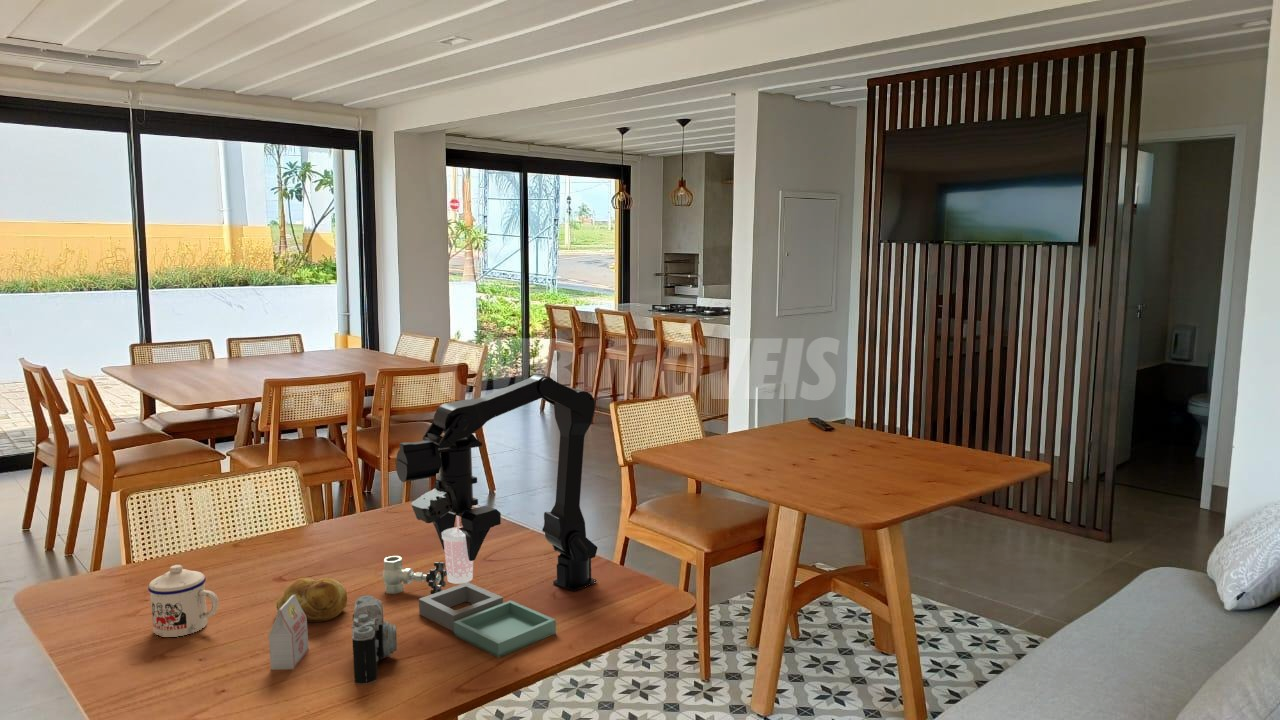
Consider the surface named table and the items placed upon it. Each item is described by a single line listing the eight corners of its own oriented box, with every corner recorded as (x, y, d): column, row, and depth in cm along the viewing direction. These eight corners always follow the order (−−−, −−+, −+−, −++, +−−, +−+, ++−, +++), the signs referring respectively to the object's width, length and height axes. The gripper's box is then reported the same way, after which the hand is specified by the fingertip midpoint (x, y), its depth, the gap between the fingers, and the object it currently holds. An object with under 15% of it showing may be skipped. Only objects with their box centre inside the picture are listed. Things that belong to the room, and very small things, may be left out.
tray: (510, 613, 164) (510, 600, 164) (555, 633, 156) (555, 619, 155) (454, 635, 155) (453, 621, 155) (498, 657, 147) (498, 643, 146)
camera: (397, 680, 140) (394, 620, 138) (352, 686, 138) (349, 625, 136) (397, 640, 154) (394, 585, 152) (356, 645, 152) (353, 589, 151)
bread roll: (266, 622, 161) (263, 580, 160) (298, 601, 171) (295, 561, 170) (328, 629, 158) (326, 586, 157) (358, 607, 168) (356, 566, 167)
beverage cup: (482, 574, 165) (480, 502, 163) (466, 587, 160) (463, 512, 158) (454, 571, 167) (451, 499, 165) (436, 583, 161) (433, 509, 160)
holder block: (468, 596, 172) (467, 581, 172) (503, 612, 165) (503, 597, 164) (419, 614, 164) (418, 598, 164) (454, 631, 157) (453, 615, 156)
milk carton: (271, 669, 143) (267, 610, 142) (286, 650, 150) (283, 594, 149) (293, 669, 143) (290, 610, 142) (308, 650, 150) (305, 593, 149)
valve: (376, 596, 173) (433, 601, 170) (374, 564, 172) (432, 568, 169) (392, 583, 179) (447, 588, 177) (390, 552, 178) (446, 556, 176)
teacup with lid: (140, 638, 155) (134, 574, 153) (174, 616, 164) (169, 556, 162) (203, 641, 153) (198, 577, 152) (234, 619, 162) (229, 558, 161)
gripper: (389, 472, 161) (393, 554, 163) (448, 491, 148) (452, 580, 151) (440, 461, 169) (444, 539, 171) (501, 478, 157) (504, 563, 159)
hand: (459, 555), depth 163 cm, fingers closed on beverage cup, 8 cm apart
